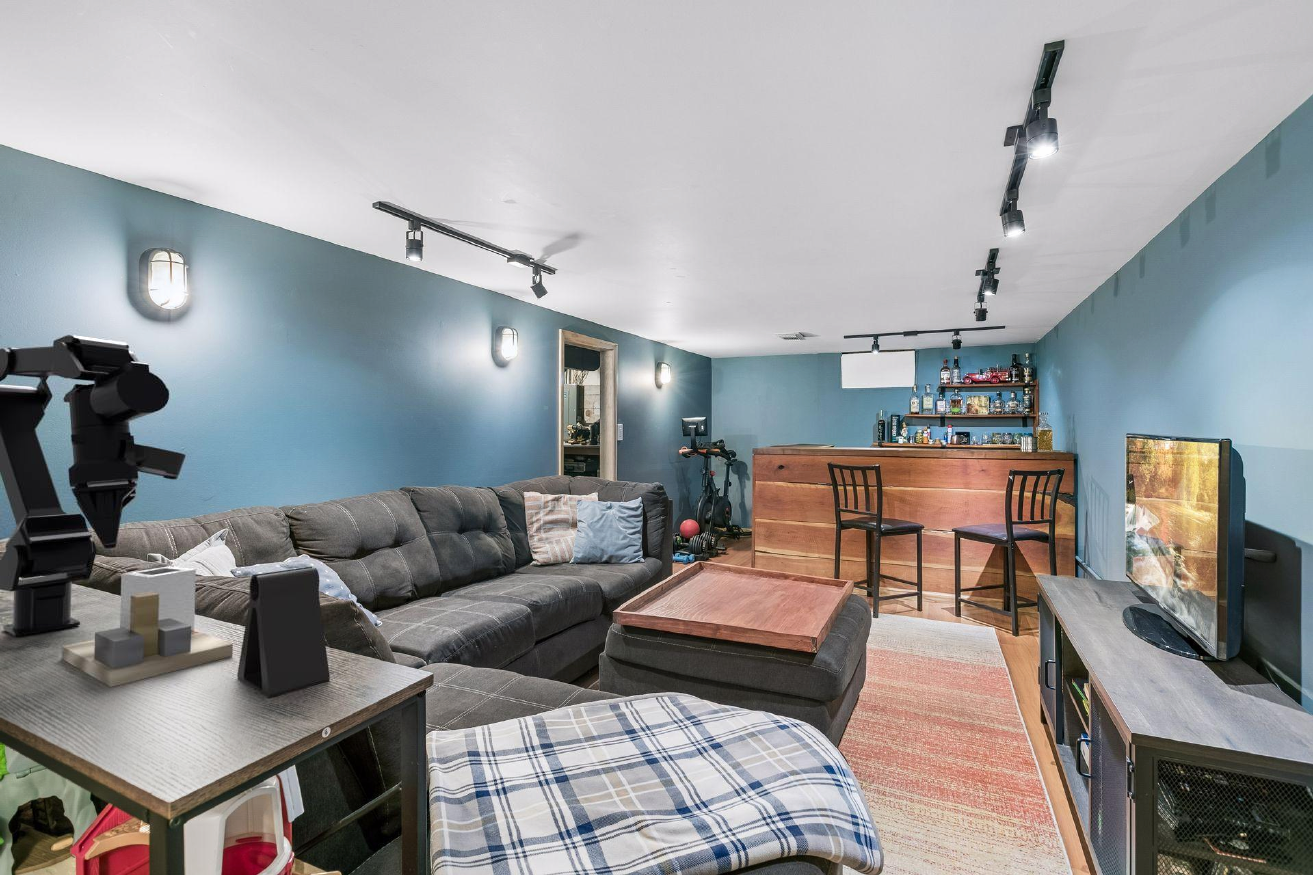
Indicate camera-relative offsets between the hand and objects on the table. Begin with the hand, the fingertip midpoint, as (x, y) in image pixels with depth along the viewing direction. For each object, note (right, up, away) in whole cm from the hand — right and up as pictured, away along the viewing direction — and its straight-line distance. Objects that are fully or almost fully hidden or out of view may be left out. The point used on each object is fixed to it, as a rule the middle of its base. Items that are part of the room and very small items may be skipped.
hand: (110, 546), depth 78 cm
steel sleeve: (+7, -11, -1) cm, 13 cm away
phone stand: (+30, -13, -12) cm, 35 cm away
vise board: (+9, -13, -5) cm, 17 cm away
